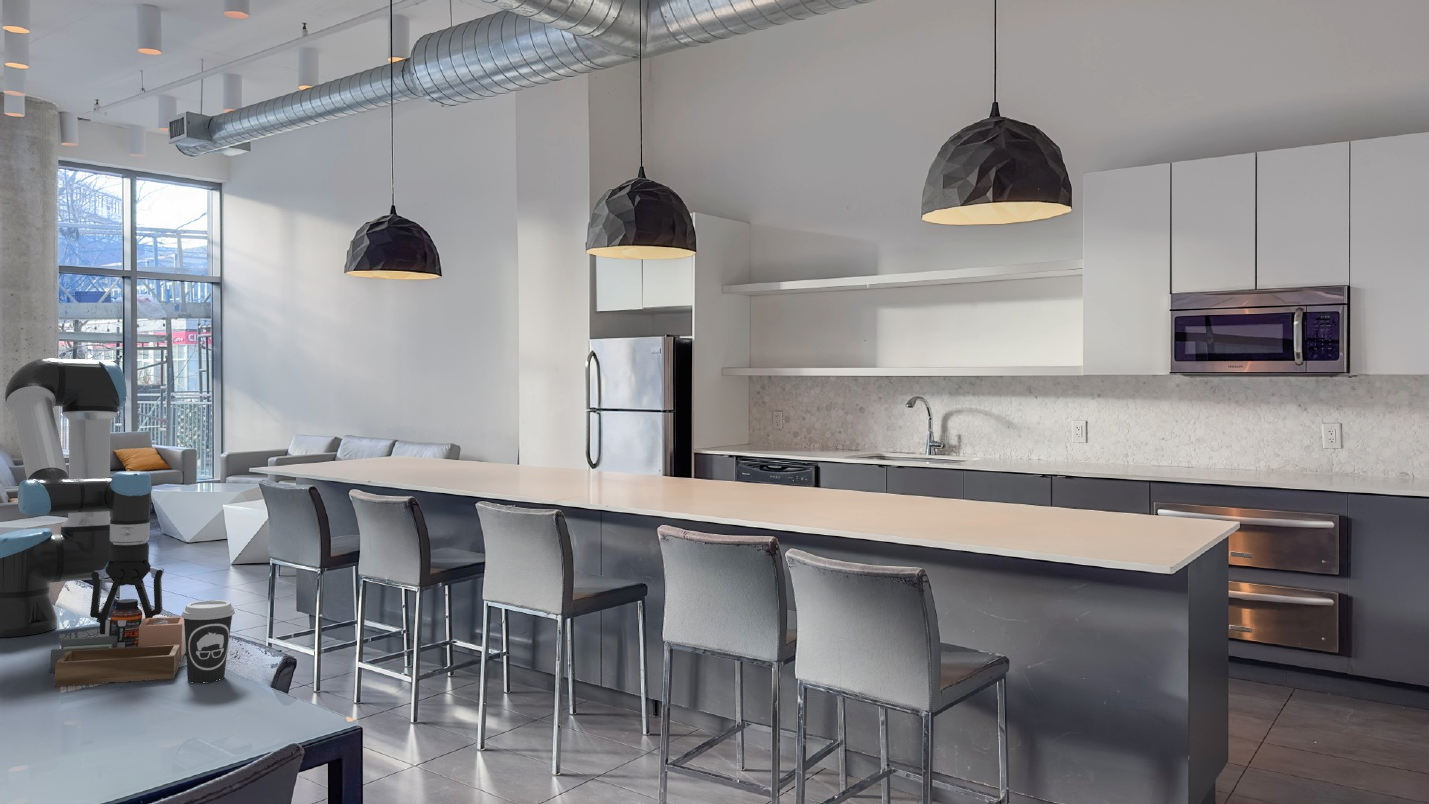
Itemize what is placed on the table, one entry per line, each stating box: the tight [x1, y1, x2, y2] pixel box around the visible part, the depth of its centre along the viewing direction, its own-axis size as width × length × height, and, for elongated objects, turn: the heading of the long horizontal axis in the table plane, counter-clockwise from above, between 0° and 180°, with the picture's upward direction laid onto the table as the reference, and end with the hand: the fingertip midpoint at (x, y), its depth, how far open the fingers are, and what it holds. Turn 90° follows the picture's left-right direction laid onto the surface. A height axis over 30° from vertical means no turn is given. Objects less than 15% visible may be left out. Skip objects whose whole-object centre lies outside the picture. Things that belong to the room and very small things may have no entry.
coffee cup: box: [180, 599, 236, 684], centre depth 193 cm, size 10×10×15 cm
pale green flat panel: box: [63, 644, 112, 649], centre depth 200 cm, size 7×9×1 cm
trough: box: [54, 644, 181, 688], centre depth 193 cm, size 10×20×4 cm, turn 113°
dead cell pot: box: [138, 616, 186, 663], centre depth 207 cm, size 8×8×8 cm
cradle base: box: [49, 636, 118, 674], centre depth 200 cm, size 10×10×4 cm
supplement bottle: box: [110, 598, 143, 648], centre depth 211 cm, size 6×6×11 cm
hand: (125, 647), depth 211 cm, fingers closed on supplement bottle, 6 cm apart
